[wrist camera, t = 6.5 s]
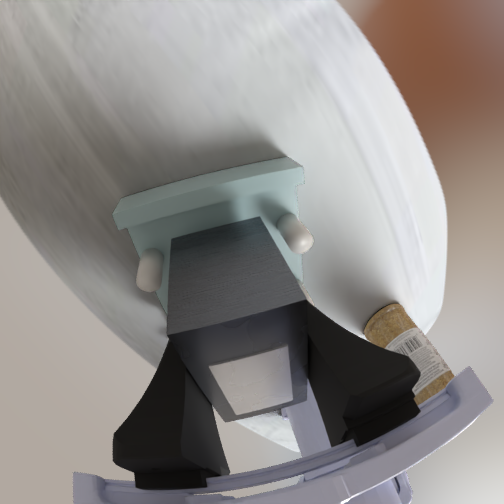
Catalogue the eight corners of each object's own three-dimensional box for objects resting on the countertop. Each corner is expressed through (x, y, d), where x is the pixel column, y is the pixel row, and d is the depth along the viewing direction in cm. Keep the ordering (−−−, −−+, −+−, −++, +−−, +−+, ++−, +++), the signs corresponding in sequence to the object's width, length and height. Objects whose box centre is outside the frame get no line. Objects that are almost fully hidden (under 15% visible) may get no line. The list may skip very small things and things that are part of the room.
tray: (300, 311, 19) (314, 340, 17) (185, 341, 18) (187, 373, 16) (288, 156, 13) (310, 171, 11) (121, 198, 12) (107, 222, 10)
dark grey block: (275, 322, 16) (307, 402, 11) (210, 339, 15) (225, 423, 11) (259, 216, 12) (308, 300, 7) (171, 238, 12) (166, 337, 7)
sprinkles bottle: (361, 343, 24) (426, 456, 13) (363, 314, 21) (445, 445, 10) (399, 323, 24) (468, 425, 13) (405, 293, 21) (491, 406, 10)
